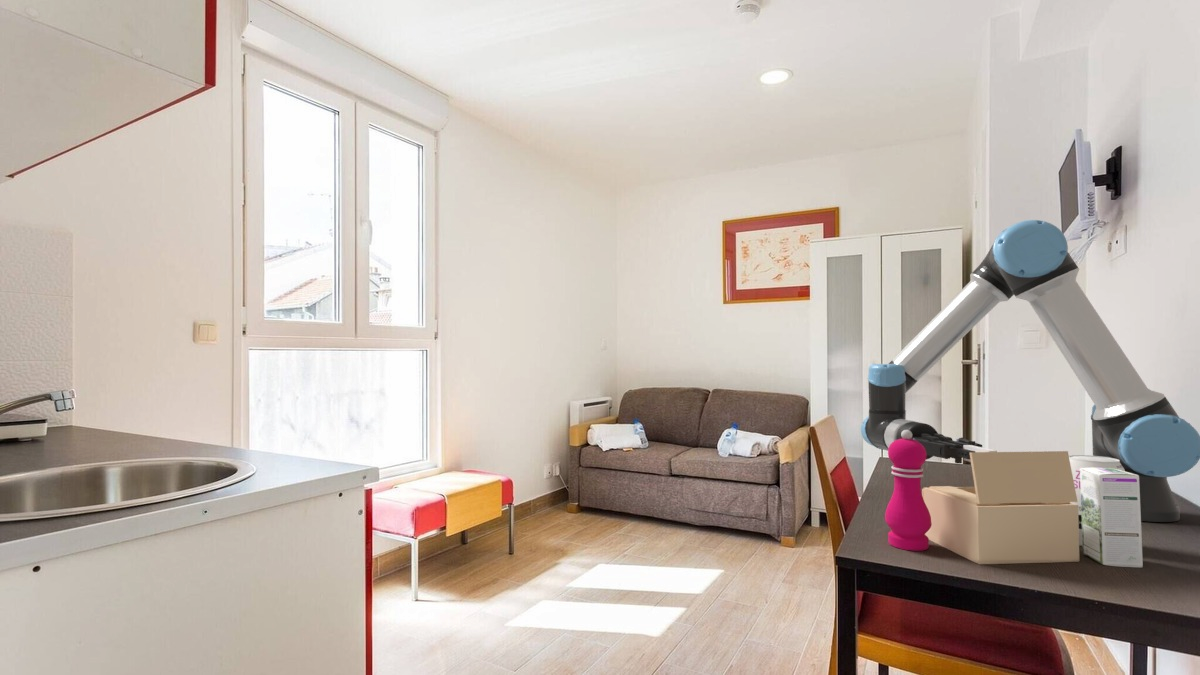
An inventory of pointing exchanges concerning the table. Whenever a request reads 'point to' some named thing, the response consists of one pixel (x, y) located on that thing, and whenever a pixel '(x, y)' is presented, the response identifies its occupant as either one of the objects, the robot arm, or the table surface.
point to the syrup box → (1111, 516)
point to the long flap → (1022, 477)
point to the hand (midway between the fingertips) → (992, 458)
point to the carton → (1002, 528)
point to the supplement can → (1088, 462)
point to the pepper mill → (907, 496)
